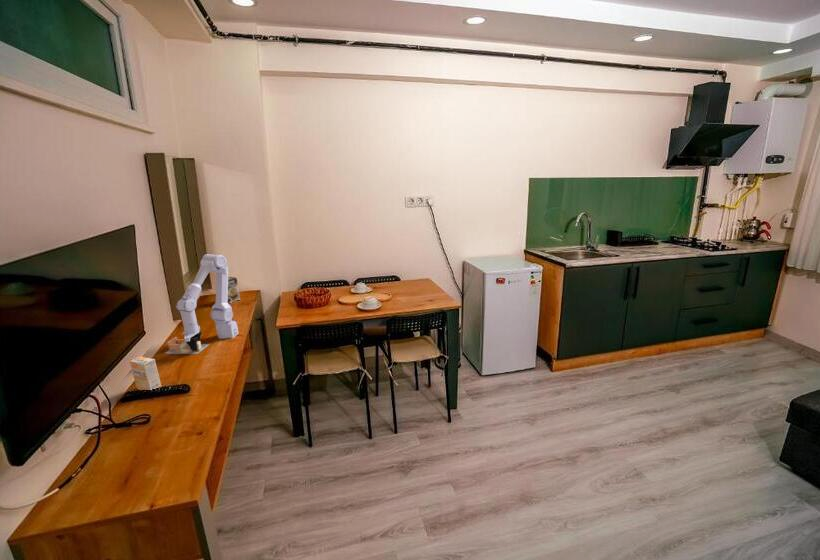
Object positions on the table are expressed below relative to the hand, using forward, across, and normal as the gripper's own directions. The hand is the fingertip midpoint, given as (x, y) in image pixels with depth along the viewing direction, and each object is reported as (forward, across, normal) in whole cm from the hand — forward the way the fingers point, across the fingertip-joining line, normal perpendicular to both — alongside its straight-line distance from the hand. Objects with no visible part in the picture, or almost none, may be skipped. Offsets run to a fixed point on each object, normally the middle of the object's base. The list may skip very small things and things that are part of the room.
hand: (195, 348), depth 181 cm
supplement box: (+2, +31, -8) cm, 32 cm away
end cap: (+1, -5, -10) cm, 11 cm away
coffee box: (+2, -73, -2) cm, 73 cm away
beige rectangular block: (+1, 0, -2) cm, 2 cm away
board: (+2, -3, -5) cm, 6 cm away
